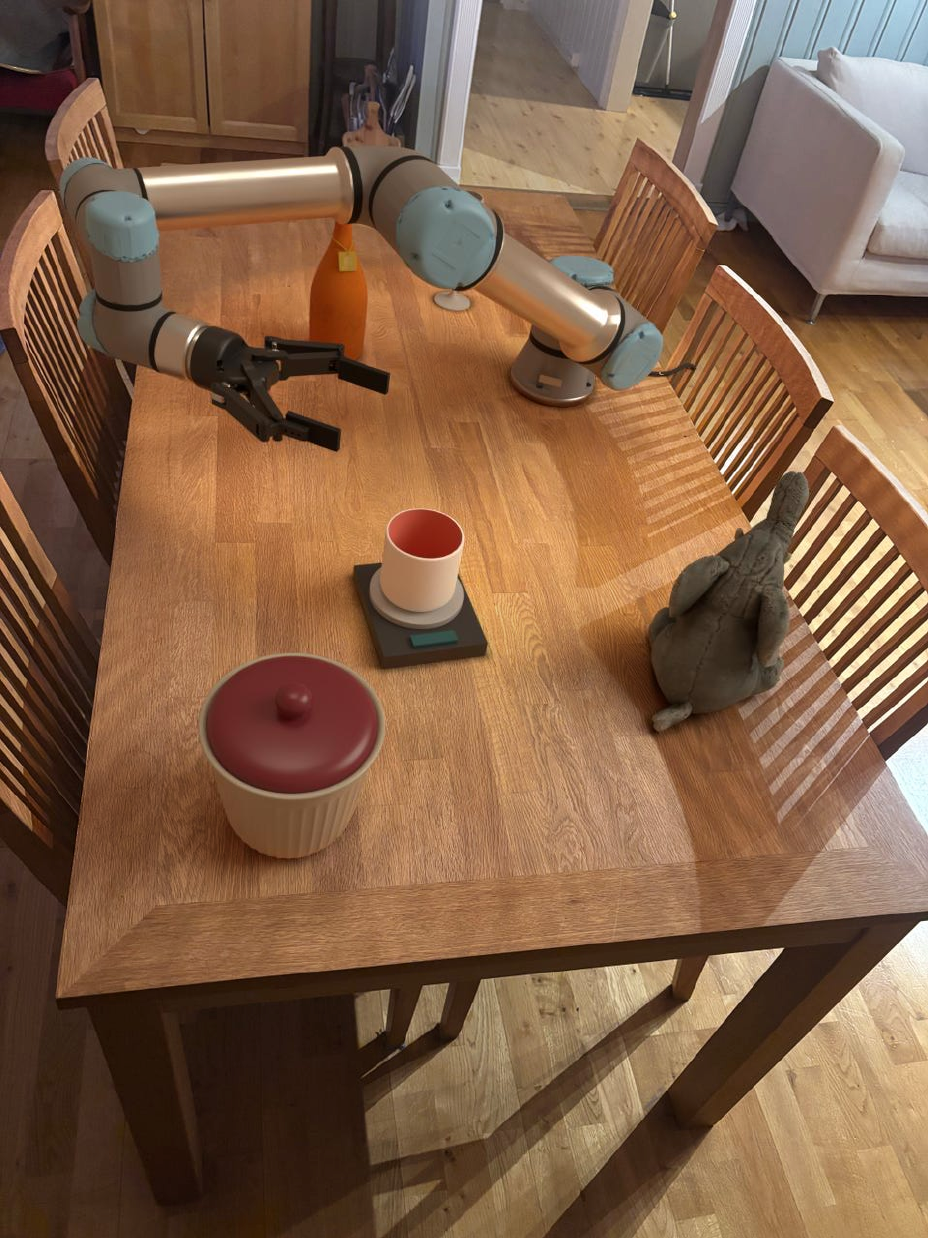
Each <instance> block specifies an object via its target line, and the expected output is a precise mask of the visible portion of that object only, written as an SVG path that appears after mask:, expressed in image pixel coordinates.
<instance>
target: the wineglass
mask: <svg viewBox="0 0 928 1238" xmlns="http://www.w3.org/2000/svg"><path fill="white" fill-rule="evenodd" d="M463 189H464V190H466V191H467V192H468V193H470V194H471V195H473V196H474V197H475V198H477V199H478V200H480V201H481V202H483V203H484V204H485V198H484V196H483V195H482V194H481V193H480V192H477V191H475V190H472V189H469V188H468V189H467V188H463ZM433 300H434V303H435V304H436V305H437V306H438V307H440V308H442V309H444V310H447V311H454V312H460V311H461V312H462V311H464V310H467V309H469V308H470V306H471V301H470V299H469V298H468V297H467V296H466V295H464V294H462V293H460V292H457V291H454V290H452V289H451V291H440V292H438V293H436V294H435V295H434V298H433Z"/></svg>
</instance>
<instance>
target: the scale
mask: <svg viewBox="0 0 928 1238" xmlns="http://www.w3.org/2000/svg"><path fill="white" fill-rule="evenodd" d="M381 567H382V562H374V563H373V562H372V563H363V564H354V565H353V570H352V580H353V584H354V586H355V589H356V592H357V595H358V599H359V601H360V605H361V608H362V611H363V615H364V617H365V620H366V624H367V627H368V631H369V633H370V636H371V639H372V642H373V645H374V648H375V652H376V655H377V658H378V661H379V664H380V667H381V669H382V670H388V669H393V668H401V667H402V668H403V667H408V666H409V667H411V666H415V665H424V664H431V663H437V662H439V663H440V662H445V661H453V660H459V659H460V660H461V659H468V658H476V657H482V656H486V654H487V650H488V646H489V645H488V644H489V642H488V640H487V636H486V635H485V633H484V630H483V628H482V625H481V623H480V621H479V618H478V616H477V614H476V611H475V609H474V607H473V604H472V602H471V600H470V597H469V594H468V593H467V590H466V588H465V585H464V583H463V581H462V578H461V576H460V574H459V573H458V576H457V582H456V587H455V591H454V594H453V596H452V598H451V599H450V600H449V601H448V602H447V603H446V604H445V605H444V606H442V607H440V608H438V609H436V610H433V611H428V612H413V611H408V610H405V609H402V608H400V607H398V606H397V605H395V604H393V603H392V602H391V601H390V600H389V599H388V598H387V597H386V596H385V594H384V593H383V591H382V588H381V584H380V575H381Z"/></svg>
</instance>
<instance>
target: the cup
mask: <svg viewBox="0 0 928 1238" xmlns="http://www.w3.org/2000/svg"><path fill="white" fill-rule="evenodd" d="M463 530H464V529H463V528H462V527H461V525H460V523H458V522H457V520H455V519H454V518H452V516H450V515H448V514H446V513H444V512H441V511H438V510H436V509H431V508H424V507H423V508H421V507H418V508H416V507H415V508H409V509H406V510H402V511H400V512H398V513H396V514H394V515H393V516H392V517H391V518H390V519H389V521H388V522H387V524H386V527H385V533H384V542H383V549H382V550H383V551H382V559H381V563H382V567H381V575H380V584H381V588H382V591H383V593H384V594H385V596H386V597H387V598H388V599H389V600H390V601H391V602H392V603H393V604H395V605H397V606H398V607H400V608H402V609H405V610H408V611H413V612H428V611H433V610H436V609H438V608H440V607H442V606H444V605H445V604H446V603H447V602H448V601H449V600H450V599H451V598H452V596H453V594H454V591H455V587H456V582H457V576H458V574H459V571H460V565H461V560H462V555H463V551H464V544H465V539H466V537H465V532H464V531H463Z"/></svg>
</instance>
